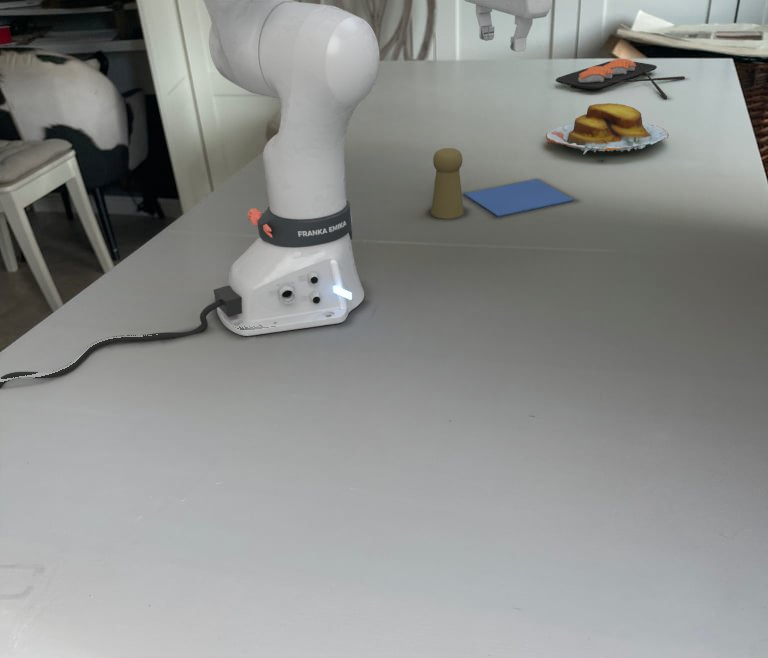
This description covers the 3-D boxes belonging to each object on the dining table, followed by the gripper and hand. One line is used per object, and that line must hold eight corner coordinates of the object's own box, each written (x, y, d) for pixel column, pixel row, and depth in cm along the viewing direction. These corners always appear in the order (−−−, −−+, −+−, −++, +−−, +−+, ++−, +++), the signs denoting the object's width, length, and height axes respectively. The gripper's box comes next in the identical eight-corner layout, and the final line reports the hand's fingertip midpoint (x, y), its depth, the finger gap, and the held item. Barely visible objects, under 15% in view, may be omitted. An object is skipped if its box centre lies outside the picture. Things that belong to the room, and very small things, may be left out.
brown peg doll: (461, 219, 146) (462, 155, 139) (428, 218, 147) (428, 154, 140) (465, 206, 150) (467, 144, 143) (433, 206, 151) (433, 144, 144)
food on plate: (531, 158, 170) (533, 124, 166) (562, 125, 187) (564, 94, 183) (655, 168, 161) (661, 133, 157) (675, 133, 178) (681, 100, 174)
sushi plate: (615, 66, 227) (617, 51, 224) (712, 81, 210) (715, 65, 207) (550, 87, 213) (551, 71, 210) (648, 106, 195) (651, 88, 193)
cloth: (497, 217, 146) (497, 215, 146) (464, 195, 155) (464, 193, 155) (573, 200, 150) (573, 199, 150) (536, 180, 159) (536, 179, 159)
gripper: (452, -72, 118) (451, 36, 127) (524, -61, 103) (517, 60, 112) (490, -76, 119) (487, 31, 128) (566, -66, 105) (556, 54, 114)
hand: (501, 45), depth 120 cm, fingers open, 8 cm apart
